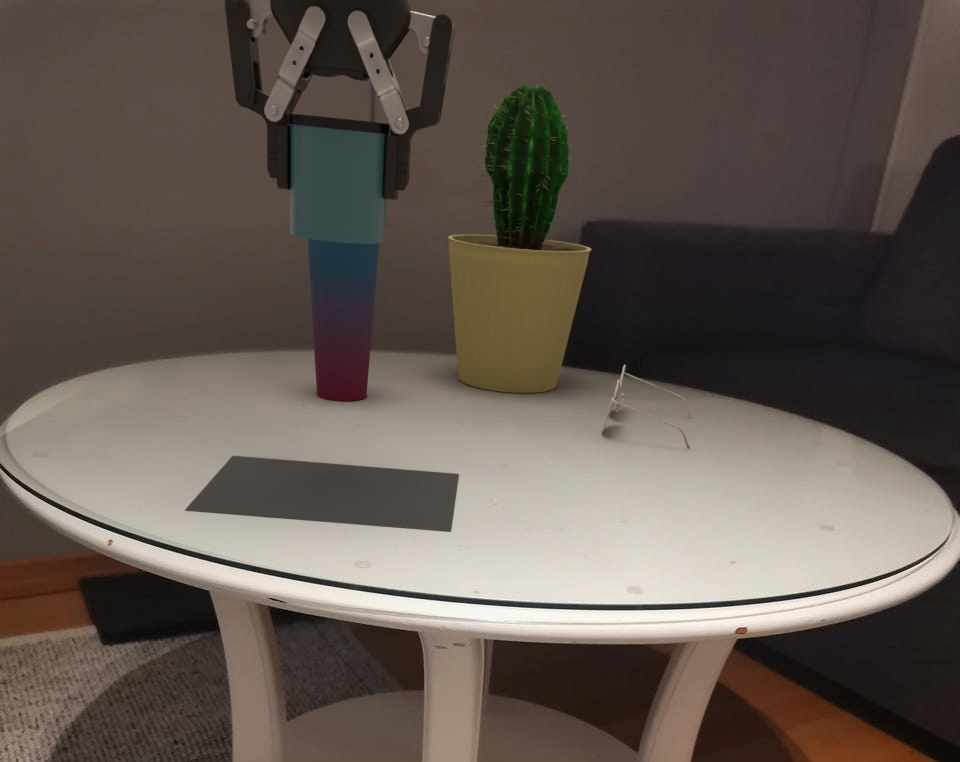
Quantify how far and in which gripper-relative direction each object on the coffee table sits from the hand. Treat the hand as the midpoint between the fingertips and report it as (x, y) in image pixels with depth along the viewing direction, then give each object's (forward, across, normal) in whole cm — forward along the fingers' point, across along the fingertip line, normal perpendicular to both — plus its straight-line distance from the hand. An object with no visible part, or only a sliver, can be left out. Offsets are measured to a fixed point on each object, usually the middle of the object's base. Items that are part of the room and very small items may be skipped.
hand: (338, 192), depth 64 cm
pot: (+3, 0, -3) cm, 4 cm away
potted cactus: (+20, -13, -43) cm, 49 cm away
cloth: (+20, 0, +1) cm, 20 cm away
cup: (+20, +4, -30) cm, 36 cm away
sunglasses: (+20, -27, -27) cm, 43 cm away
